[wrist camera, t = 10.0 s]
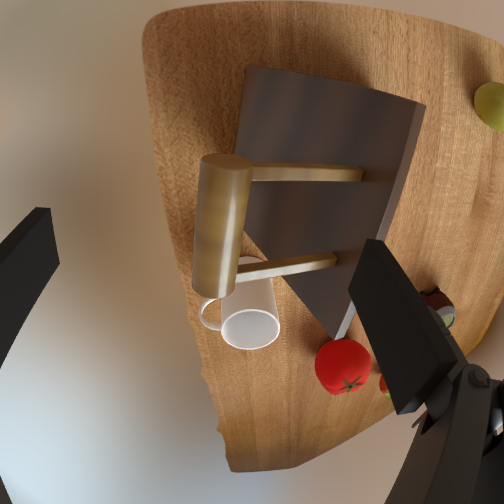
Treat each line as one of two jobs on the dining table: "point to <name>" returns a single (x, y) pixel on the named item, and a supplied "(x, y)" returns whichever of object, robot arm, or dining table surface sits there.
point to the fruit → (383, 386)
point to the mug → (247, 313)
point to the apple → (490, 105)
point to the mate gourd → (440, 305)
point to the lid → (303, 187)
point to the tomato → (342, 366)
